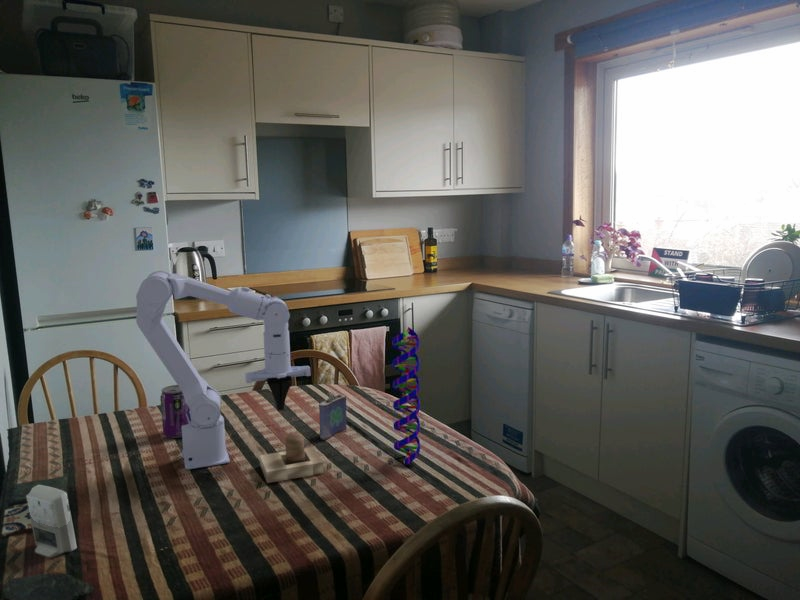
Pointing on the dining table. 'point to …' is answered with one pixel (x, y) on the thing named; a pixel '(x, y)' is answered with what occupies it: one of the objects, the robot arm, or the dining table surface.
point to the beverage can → (174, 411)
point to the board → (290, 466)
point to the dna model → (407, 394)
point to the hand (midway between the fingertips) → (279, 408)
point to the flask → (332, 416)
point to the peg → (294, 449)
